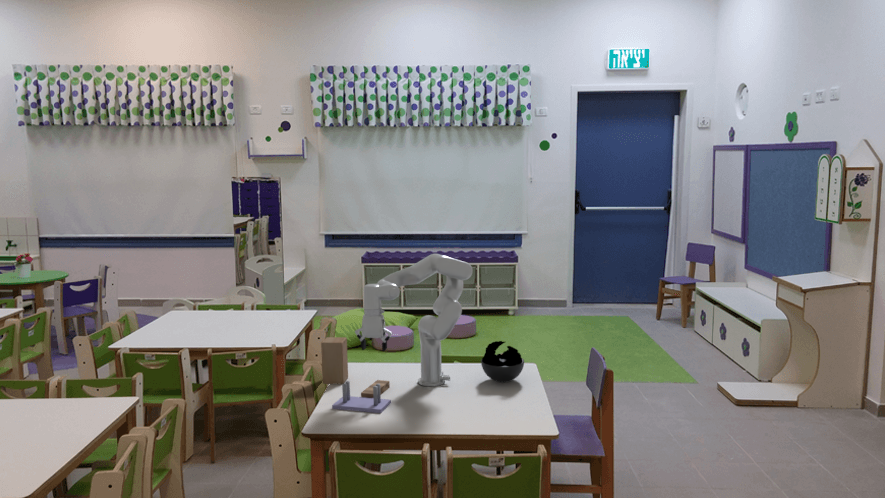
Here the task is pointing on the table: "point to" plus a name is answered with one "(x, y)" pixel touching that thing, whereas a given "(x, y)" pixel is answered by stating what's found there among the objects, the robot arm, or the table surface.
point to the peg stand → (361, 401)
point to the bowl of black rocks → (502, 363)
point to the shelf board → (383, 385)
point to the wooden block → (334, 360)
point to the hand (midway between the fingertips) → (374, 349)
